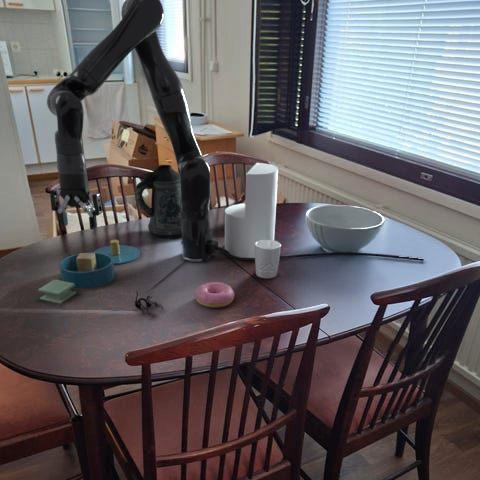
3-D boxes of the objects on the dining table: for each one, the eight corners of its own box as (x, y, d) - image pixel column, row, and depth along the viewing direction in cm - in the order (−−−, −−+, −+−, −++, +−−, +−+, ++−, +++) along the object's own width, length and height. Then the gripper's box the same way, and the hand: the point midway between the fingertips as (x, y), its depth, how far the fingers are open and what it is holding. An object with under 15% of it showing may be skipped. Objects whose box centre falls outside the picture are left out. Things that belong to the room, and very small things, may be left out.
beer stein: (201, 231, 183) (199, 165, 171) (168, 247, 169) (164, 175, 156) (167, 223, 191) (164, 159, 178) (133, 237, 176) (127, 168, 164)
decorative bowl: (293, 255, 164) (296, 221, 158) (313, 232, 186) (316, 201, 180) (372, 269, 156) (378, 233, 150) (383, 242, 177) (389, 210, 171)
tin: (124, 273, 149) (122, 256, 146) (95, 293, 137) (92, 276, 134) (83, 265, 153) (80, 249, 151) (51, 284, 141) (48, 267, 138)
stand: (76, 294, 136) (74, 283, 134) (60, 305, 130) (58, 293, 128) (56, 290, 138) (54, 279, 136) (39, 300, 132) (37, 289, 130)
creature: (163, 307, 132) (134, 302, 131) (166, 290, 130) (136, 285, 128) (161, 321, 126) (130, 316, 124) (164, 304, 123) (133, 298, 122)
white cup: (281, 271, 153) (283, 241, 148) (275, 281, 146) (277, 250, 141) (258, 267, 155) (259, 238, 150) (250, 277, 148) (251, 246, 143)
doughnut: (239, 307, 131) (239, 294, 129) (199, 312, 128) (199, 298, 126) (228, 290, 140) (228, 277, 138) (191, 294, 137) (191, 281, 135)
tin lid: (149, 252, 165) (148, 236, 162) (124, 269, 151) (122, 253, 149) (109, 245, 169) (107, 230, 166) (81, 261, 156) (78, 245, 153)
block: (97, 274, 147) (94, 253, 143) (94, 280, 143) (90, 258, 139) (83, 274, 147) (80, 252, 143) (79, 280, 143) (75, 258, 139)
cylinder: (277, 243, 174) (282, 164, 160) (268, 261, 160) (273, 176, 146) (231, 238, 178) (232, 160, 164) (219, 255, 163) (219, 172, 149)
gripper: (102, 169, 133) (107, 225, 141) (54, 164, 135) (62, 220, 143) (91, 175, 126) (96, 234, 134) (40, 170, 128) (49, 228, 136)
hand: (78, 227), depth 138 cm, fingers open, 8 cm apart
